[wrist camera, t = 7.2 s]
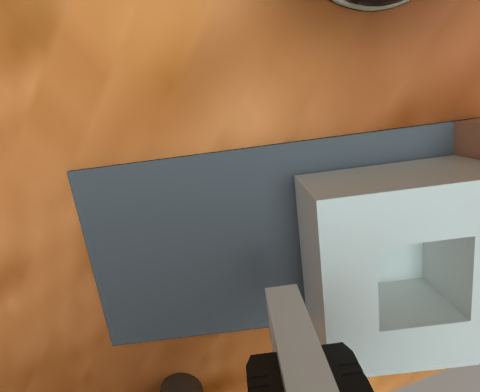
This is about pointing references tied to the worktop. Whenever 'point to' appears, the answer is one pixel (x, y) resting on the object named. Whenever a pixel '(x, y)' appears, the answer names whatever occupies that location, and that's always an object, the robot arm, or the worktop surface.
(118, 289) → the rubber mat
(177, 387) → the dowel
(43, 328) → the worktop surface
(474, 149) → the wall
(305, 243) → the hole block
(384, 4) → the coffee can
